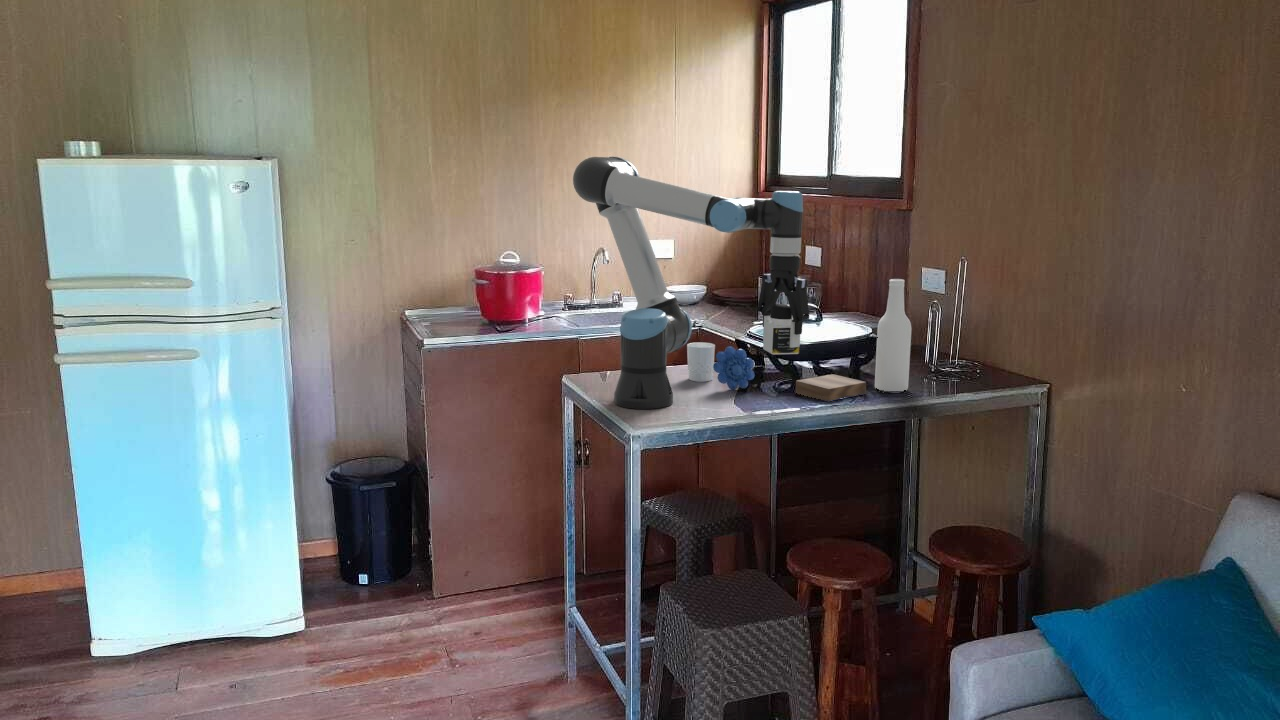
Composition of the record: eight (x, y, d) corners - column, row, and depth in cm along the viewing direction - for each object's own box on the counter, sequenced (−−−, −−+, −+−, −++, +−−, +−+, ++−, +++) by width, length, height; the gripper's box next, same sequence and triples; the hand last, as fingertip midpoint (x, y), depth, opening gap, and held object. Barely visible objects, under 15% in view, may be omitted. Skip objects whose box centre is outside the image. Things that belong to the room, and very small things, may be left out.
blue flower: (717, 394, 253) (718, 349, 250) (710, 388, 259) (711, 345, 257) (759, 392, 255) (760, 348, 253) (751, 386, 261) (752, 343, 259)
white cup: (715, 382, 267) (715, 347, 265) (687, 382, 267) (687, 347, 265) (713, 376, 274) (714, 342, 272) (686, 376, 274) (686, 342, 272)
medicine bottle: (772, 354, 236) (774, 307, 234) (762, 349, 243) (764, 302, 240) (799, 354, 237) (801, 306, 235) (789, 348, 244) (791, 302, 242)
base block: (828, 402, 244) (828, 388, 243) (795, 393, 254) (795, 380, 253) (865, 394, 252) (866, 382, 251) (832, 386, 262) (832, 374, 261)
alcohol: (909, 394, 253) (916, 281, 247) (875, 393, 254) (881, 281, 248) (906, 387, 261) (912, 278, 255) (873, 385, 262) (878, 277, 256)
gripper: (828, 257, 229) (822, 349, 233) (766, 250, 246) (762, 335, 251) (805, 259, 224) (800, 352, 229) (744, 251, 242) (741, 338, 246)
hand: (781, 343), depth 240 cm, fingers closed on medicine bottle, 9 cm apart
